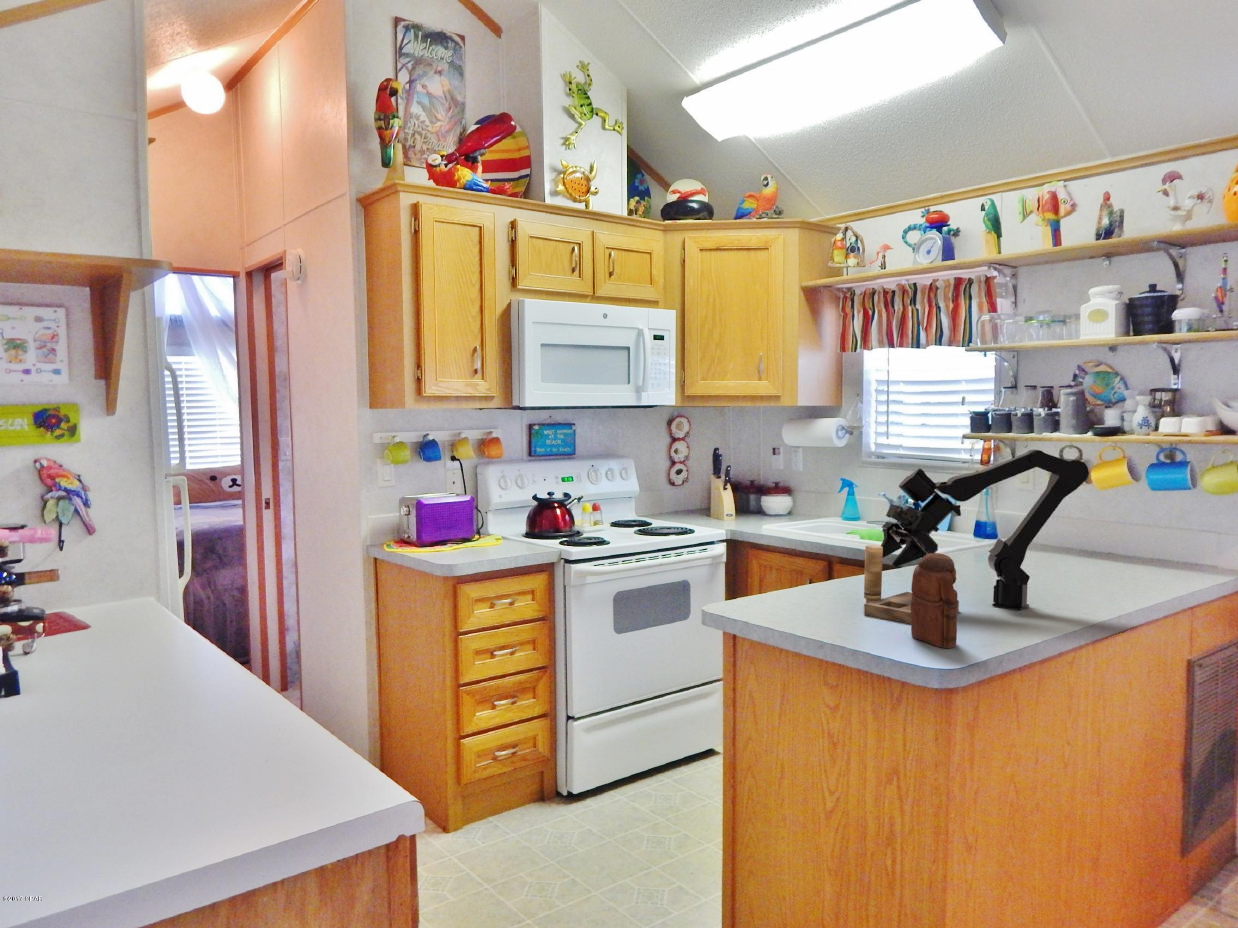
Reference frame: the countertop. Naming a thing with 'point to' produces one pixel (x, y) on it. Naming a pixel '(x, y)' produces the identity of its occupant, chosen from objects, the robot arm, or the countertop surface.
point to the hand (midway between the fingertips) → (884, 562)
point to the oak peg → (873, 573)
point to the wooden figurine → (934, 601)
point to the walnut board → (893, 608)
